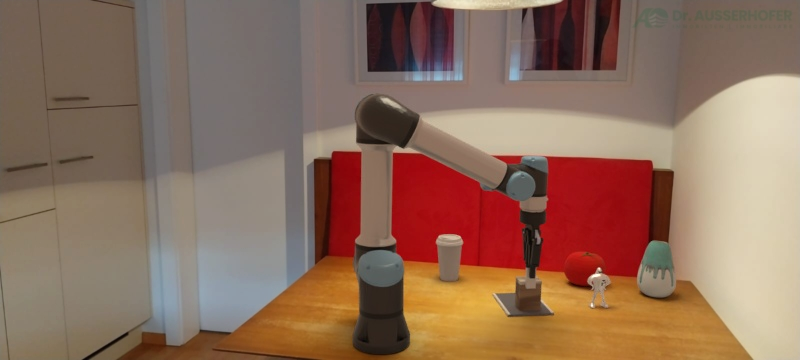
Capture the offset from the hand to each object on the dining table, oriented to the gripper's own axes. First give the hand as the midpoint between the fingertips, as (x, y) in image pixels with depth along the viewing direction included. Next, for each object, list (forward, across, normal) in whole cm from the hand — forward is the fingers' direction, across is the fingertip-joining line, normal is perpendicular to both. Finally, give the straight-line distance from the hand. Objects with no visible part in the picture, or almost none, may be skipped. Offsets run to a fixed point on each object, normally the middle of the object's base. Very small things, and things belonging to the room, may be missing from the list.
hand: (530, 287), depth 174 cm
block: (+7, +3, 0) cm, 8 cm away
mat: (+8, +7, 0) cm, 11 cm away
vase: (+8, +13, -46) cm, 48 cm away
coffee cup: (+8, +34, +18) cm, 39 cm away
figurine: (+8, +4, -23) cm, 25 cm away
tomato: (+8, +24, -27) cm, 37 cm away
